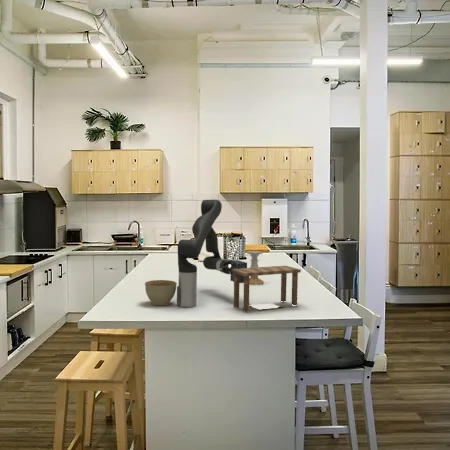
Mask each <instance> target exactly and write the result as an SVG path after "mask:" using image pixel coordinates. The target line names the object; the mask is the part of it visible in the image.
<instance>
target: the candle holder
mask: <svg viewBox="0 0 450 450" xmlns="http://www.w3.org/2000/svg"><path fill="white" fill-rule="evenodd" d="M245 253H246V254H247V255H250V257H251V259H250V260H249V261H250V262H251V263H250V266H249V268H256V267H259V265H258V262H259V259H258V258H259V255H263V254H264V251H261V250H247V251H246V252H245ZM263 283H264V284H265V282H264V280H262V279H261V278H259V276H250V280H249V284H262V285H264V284H263Z"/></svg>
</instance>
